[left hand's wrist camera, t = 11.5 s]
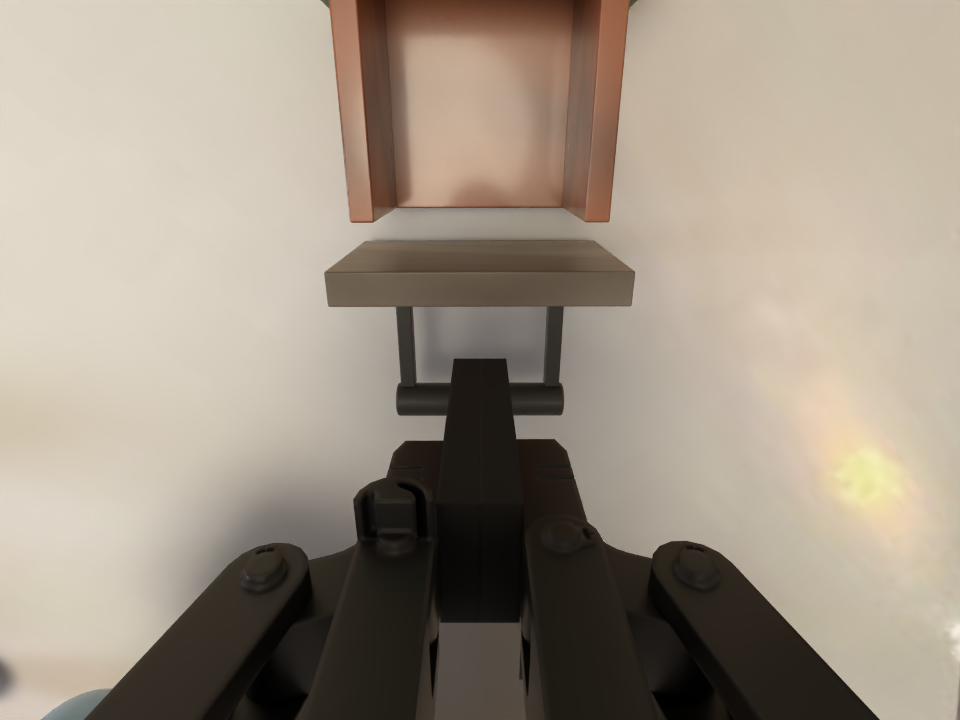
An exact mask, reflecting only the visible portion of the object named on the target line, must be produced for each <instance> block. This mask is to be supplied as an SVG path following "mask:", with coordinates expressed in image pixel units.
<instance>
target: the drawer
mask: <svg viewBox="0 0 960 720" xmlns="http://www.w3.org/2000/svg"><path fill="white" fill-rule="evenodd" d="M329 6H330V16H331V27H332V37H333V48H334V59H335V69H336V80H337V90H338V101H339V111H340V122H341V132H342V143H343V153H344V164H345V174H346V185H347V195H348V206H349V216H350V222H352V223H373V222H375V221H376V220H378V219H380V218H381V217H383V216H384V215H386V214H387V213H389V212H391V211H392V210H394V209H395V208H564V209H566V210H567V211H569V212H571V213H572V214H574V215H575V216H577V217H578V218H580V219H582V220H583V221H585V222H609V220H610V209H611V198H612V187H613V176H614V165H615V154H616V143H617V132H618V121H619V110H620V99H621V88H622V77H623V66H624V55H625V44H626V33H627V22H628V11H629V0H329ZM324 275H325V283H326V292H327V300H328V306H329V307H396V314H397V329H398V344H399V359H400V374H401V383H399V384H398V387H397V392H396V408H397V413H398V415H400V416H447V410H448V402H449V394H450V386H451V383H416V381H417V378H416V360H415V341H414V322H413V307H483V306H547V317H546V338H545V358H544V378H543V381H544V383H509V386H510V394H511V402H512V410H513V415H562V413H563V408H564V392H563V386H562V384H561V383H559V373H560V357H561V341H562V325H563V308H564V306H631V305H632V296H633V287H634V278H635V271H633V270H632V269H631V268H629V267H628V266H627V265H625V264H624V263H623V262H621V261H620V260H619V259H618V258H616V257H615V256H614V255H612V254H611V253H610V252H608V251H607V250H606V249H604V248H603V247H602V246H600V245H599V244H598V243H596V242H595V241H365V242H364V243H362V244H361V245H360V246H358V247H357V248H356V249H355V250H353V251H352V252H351V253H349V254H348V255H347V256H345V257H344V258H343V259H341V260H340V261H339V262H337V263H336V264H335V265H333V266H332V267H331V268H329V269H328V270H327V271H325V273H324Z"/></svg>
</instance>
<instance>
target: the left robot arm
mask: <svg viewBox="0 0 960 720" xmlns="http://www.w3.org/2000/svg"><path fill="white" fill-rule="evenodd" d="M353 502H354V511H355V520H356V529H357V538H358V540H357V544H355V545H354V546H352V547H350V548H348V549H346V550H344V551H342V552H339V553H336V554H333V555H329V556H325V557H321V558H317V559H312V560H308V557H307V555H306V554H305V553H304V552H303V551H302V549H301V548H299V547H296V546H294V545H291V544H288V543H272V544H268V545H263V546H259V547H256V548H254V549H252V550H250V551H248V552H246V553H244V554H242V555H240V556H239V557H238V558H237V559H235V560H234V561H233V562H232V563H230V564H229V565H228V566H227V567H226V568H225V569H224V570H223V572H222V573H221V574H220V575H219V576H218V577H217V578H216V579H215V580H214V581H213V582H212V583H211V584H210V585H209V586H208V588H207V589H206V590H205V591H204V592H203V593H202V594H201V595H200V596H199V597H198V598H197V599H196V600H195V601H194V603H193V604H192V605H191V606H190V607H189V608H188V609H187V610H186V611H185V612H184V613H183V614H182V615H181V616H180V617H179V619H178V620H177V621H176V622H175V623H174V624H173V625H172V626H171V627H170V628H169V629H168V630H167V631H166V632H165V633H164V635H163V636H162V637H161V638H160V639H159V640H158V641H157V642H156V643H155V644H154V645H153V646H152V647H151V648H150V649H149V651H148V652H147V653H146V654H145V655H144V656H143V657H142V658H141V659H140V660H139V661H138V662H137V663H136V664H135V666H134V667H133V668H132V669H131V670H130V671H129V672H128V673H127V674H126V675H125V676H124V677H123V678H122V679H121V680H120V682H119V683H118V684H117V685H116V686H115V687H114V688H113V689H100V690H94V691H90V692H87V693H84V694H81V695H78V696H76V697H74V698H72V699H70V700H68V701H66V702H64V703H63V704H61V705H60V706H58V707H57V708H55V709H54V710H52V711H51V712H50V713H48V714H47V715H46V716H45V717H43V718H42V719H41V720H880V719H879V718H878V717H877V716H876V715H875V714H874V713H873V712H872V711H871V710H870V709H869V708H868V707H867V706H866V705H865V704H864V702H863V701H862V700H861V699H860V698H859V697H858V696H857V695H856V694H855V693H854V692H853V691H852V690H851V689H850V688H849V687H848V686H847V684H846V683H845V682H844V681H843V680H842V679H841V678H840V677H839V676H838V675H837V674H836V673H835V672H834V671H833V670H832V669H831V667H830V666H829V665H828V664H827V663H826V662H825V661H824V660H823V659H822V658H821V657H820V656H819V655H818V654H817V653H816V652H815V651H814V649H813V648H812V647H811V646H810V645H809V644H808V643H807V642H806V641H805V640H804V639H803V638H802V637H801V636H800V635H799V634H798V632H797V631H796V630H795V629H794V628H793V627H792V626H791V625H790V624H789V623H788V622H787V621H786V620H785V619H784V618H783V617H782V616H781V614H780V613H779V612H778V611H777V610H776V609H775V608H774V607H773V606H772V605H771V604H770V603H769V602H768V601H767V600H766V599H765V597H764V596H763V595H762V594H761V593H760V592H759V591H758V590H757V589H756V588H755V587H754V586H753V585H752V584H751V583H750V582H749V581H748V579H747V578H746V577H745V576H744V575H743V574H742V573H741V572H740V571H739V570H738V569H737V568H736V567H735V566H734V565H733V564H732V563H731V562H730V561H729V560H728V559H726V558H725V557H724V556H723V555H721V554H720V553H719V552H717V551H715V550H713V549H711V548H709V547H707V546H705V545H702V544H697V543H693V542H689V541H671V542H669V543H666V544H664V545H661V546H659V548H658V549H657V550H656V551H655V552H654V554H653V557H652V558H648V557H643V556H639V555H635V554H631V553H627V552H624V551H621V550H618V549H616V548H614V547H612V546H610V545H608V544H606V543H605V542H603V540H602V538H601V536H600V534H599V533H598V531H597V529H596V528H594V527H593V526H592V525H590V524H589V523H588V522H587V519H586V515H585V512H584V509H583V505H582V502H581V498H580V495H579V492H578V488H577V485H576V481H575V479H574V475H573V471H572V468H571V464H570V461H569V457H568V454H567V451H566V450H565V449H564V448H563V447H562V446H561V445H560V444H559V443H558V442H557V441H556V440H555V439H516V433H515V425H514V418H513V410H512V402H511V394H510V386H509V378H508V371H507V363H506V359H454V363H453V371H452V378H451V386H450V394H449V402H448V410H447V417H446V425H445V433H444V441H405V442H404V443H403V444H402V445H401V446H400V447H399V448H398V449H397V450H396V451H395V452H394V453H393V456H392V459H391V463H390V466H389V470H388V473H387V477H386V478H383V479H380V480H377V481H375V482H372V483H370V484H368V485H367V486H365V487H364V488H362V489H361V490H360V491H359V492H358V494H357V495H356V497H355V498H354V499H353Z"/></svg>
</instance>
